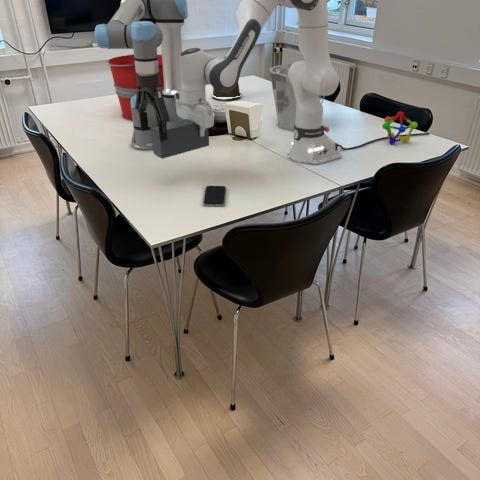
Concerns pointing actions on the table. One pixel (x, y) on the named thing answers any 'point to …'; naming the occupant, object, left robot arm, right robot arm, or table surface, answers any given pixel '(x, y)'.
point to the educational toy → (398, 128)
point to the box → (179, 138)
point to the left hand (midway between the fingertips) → (154, 135)
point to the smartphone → (214, 196)
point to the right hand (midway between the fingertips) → (195, 133)
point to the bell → (231, 93)
